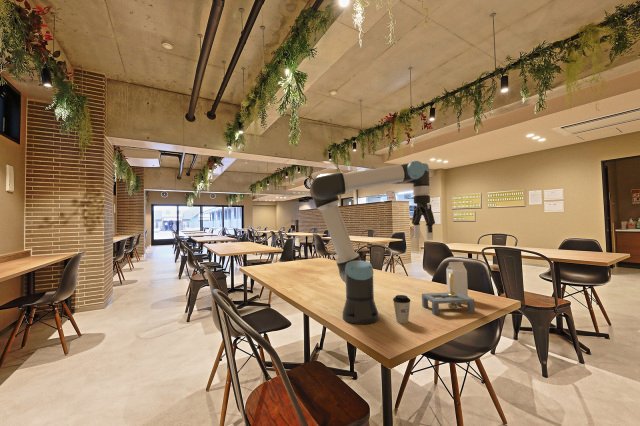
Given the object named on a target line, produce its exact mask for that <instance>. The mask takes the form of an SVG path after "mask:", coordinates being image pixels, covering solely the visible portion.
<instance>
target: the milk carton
mask: <svg viewBox="0 0 640 426" xmlns="http://www.w3.org/2000/svg"><path fill="white" fill-rule="evenodd" d="M445 271H446V293H448V292H450V281H449V274H454V292H459V293H462V294H464V295H466V296H468V297H469V292H468V291H469V290H468V288H469V287H468V270H467V268H466V267H465V264H464V261H451V262H450V261H449V262H448V265H447V267H446V270H445Z"/></svg>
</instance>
